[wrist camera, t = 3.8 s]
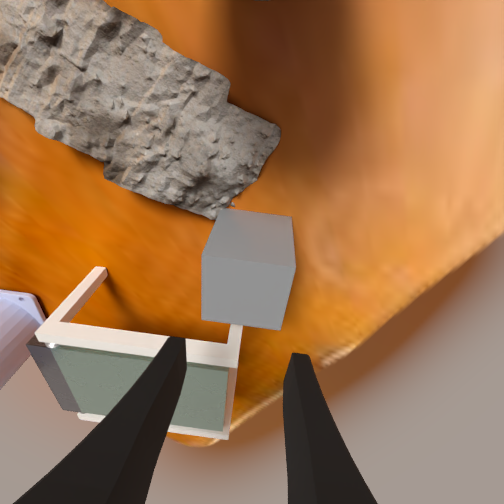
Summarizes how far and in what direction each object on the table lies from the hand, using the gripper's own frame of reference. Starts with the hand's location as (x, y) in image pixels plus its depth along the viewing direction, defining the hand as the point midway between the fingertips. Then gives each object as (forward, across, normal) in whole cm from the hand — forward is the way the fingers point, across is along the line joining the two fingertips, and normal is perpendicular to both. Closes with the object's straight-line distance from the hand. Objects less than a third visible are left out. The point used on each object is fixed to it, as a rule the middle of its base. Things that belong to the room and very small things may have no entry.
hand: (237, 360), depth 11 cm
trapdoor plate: (+4, +7, +9) cm, 12 cm away
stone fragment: (+10, +12, -10) cm, 18 cm away
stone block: (+10, 0, 0) cm, 10 cm away
